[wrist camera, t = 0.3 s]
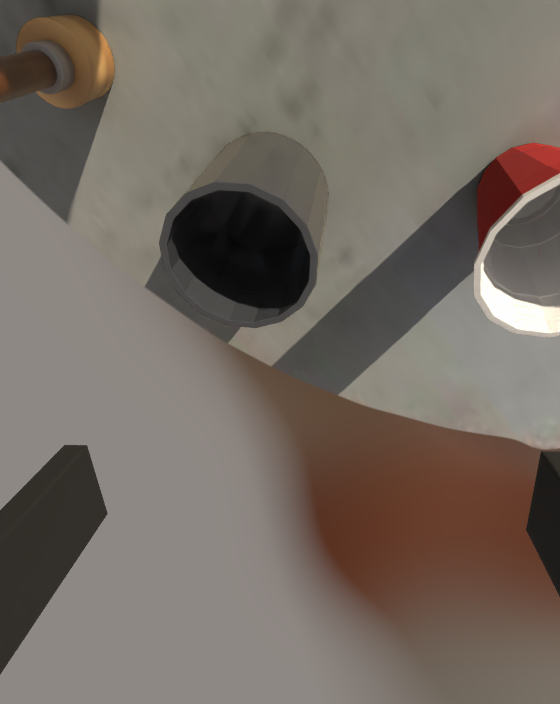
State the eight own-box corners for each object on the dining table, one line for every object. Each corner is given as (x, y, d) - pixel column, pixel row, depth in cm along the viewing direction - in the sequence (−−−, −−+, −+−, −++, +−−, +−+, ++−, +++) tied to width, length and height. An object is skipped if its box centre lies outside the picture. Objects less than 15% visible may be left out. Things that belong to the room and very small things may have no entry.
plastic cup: (497, 277, 37) (540, 371, 28) (413, 191, 33) (432, 267, 24) (636, 181, 31) (750, 263, 22) (552, 63, 27) (646, 102, 18)
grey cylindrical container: (266, 100, 31) (230, 142, 23) (353, 203, 35) (351, 272, 26) (183, 193, 36) (130, 254, 28) (267, 274, 40) (242, 349, 32)
